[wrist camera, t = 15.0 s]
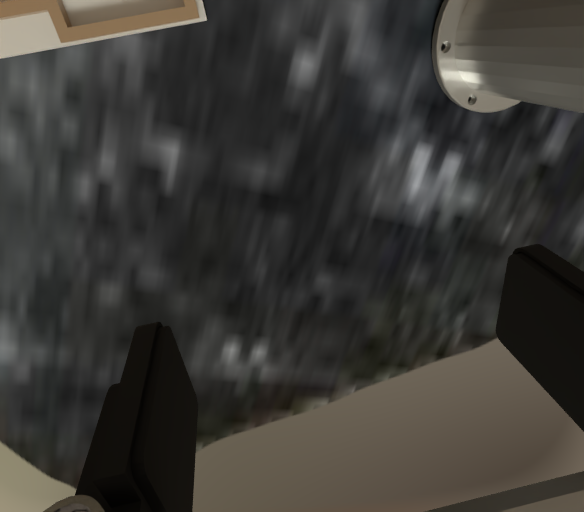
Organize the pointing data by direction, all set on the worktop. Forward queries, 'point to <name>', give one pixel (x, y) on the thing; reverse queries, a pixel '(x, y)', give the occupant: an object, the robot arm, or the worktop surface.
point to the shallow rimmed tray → (86, 21)
